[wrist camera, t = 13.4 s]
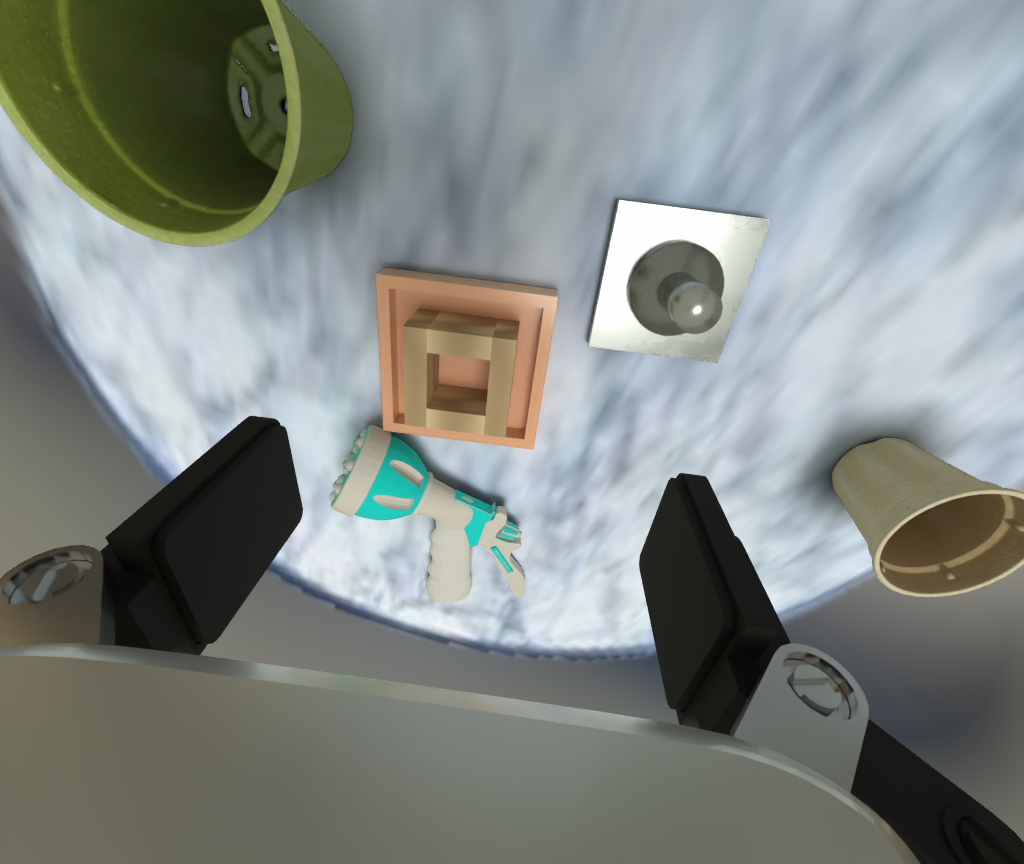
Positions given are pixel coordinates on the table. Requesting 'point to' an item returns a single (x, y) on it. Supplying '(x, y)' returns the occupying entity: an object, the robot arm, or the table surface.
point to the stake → (673, 279)
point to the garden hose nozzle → (426, 512)
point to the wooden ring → (454, 403)
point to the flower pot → (929, 519)
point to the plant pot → (174, 108)
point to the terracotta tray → (472, 297)
